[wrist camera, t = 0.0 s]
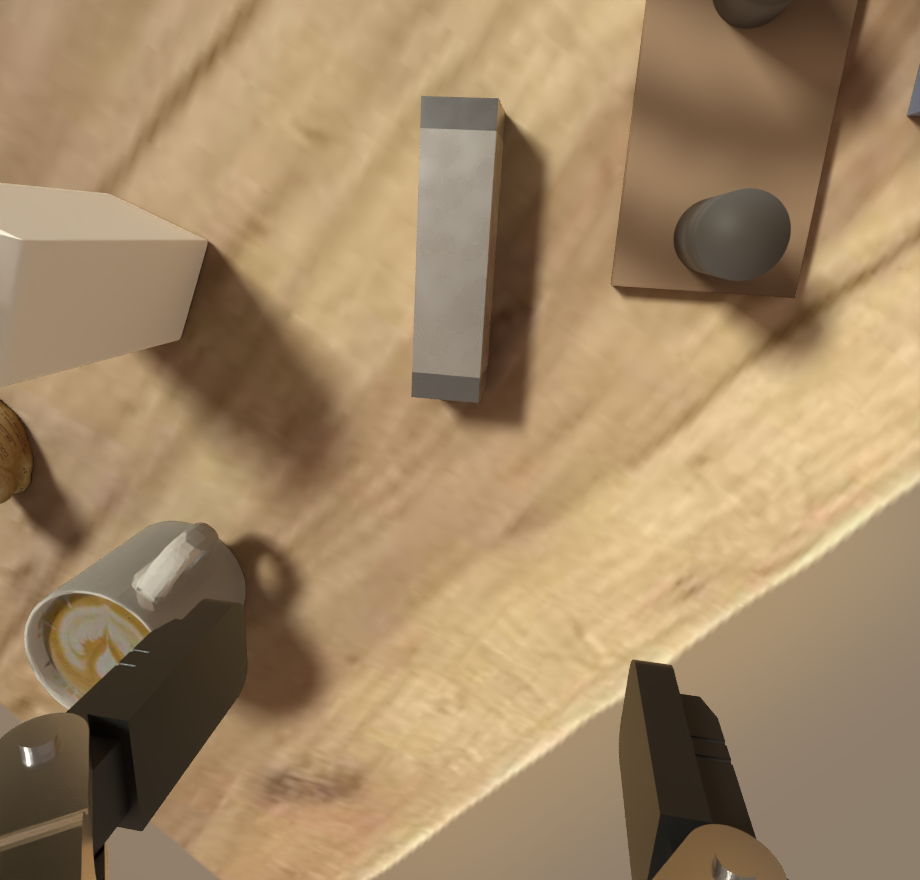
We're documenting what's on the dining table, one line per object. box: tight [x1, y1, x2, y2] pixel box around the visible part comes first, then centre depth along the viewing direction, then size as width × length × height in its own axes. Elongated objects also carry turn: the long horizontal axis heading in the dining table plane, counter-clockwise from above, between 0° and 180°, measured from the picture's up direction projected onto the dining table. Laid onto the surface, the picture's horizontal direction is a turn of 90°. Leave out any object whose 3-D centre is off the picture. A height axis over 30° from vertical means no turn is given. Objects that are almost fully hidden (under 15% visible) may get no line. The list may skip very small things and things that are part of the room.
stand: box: [611, 0, 858, 298], centre depth 31 cm, size 18×10×8 cm, turn 177°
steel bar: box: [412, 96, 505, 403], centre depth 37 cm, size 16×4×4 cm, turn 177°
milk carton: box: [0, 183, 208, 387], centre depth 33 cm, size 7×7×19 cm
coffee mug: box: [24, 521, 246, 709], centre depth 44 cm, size 13×10×10 cm
